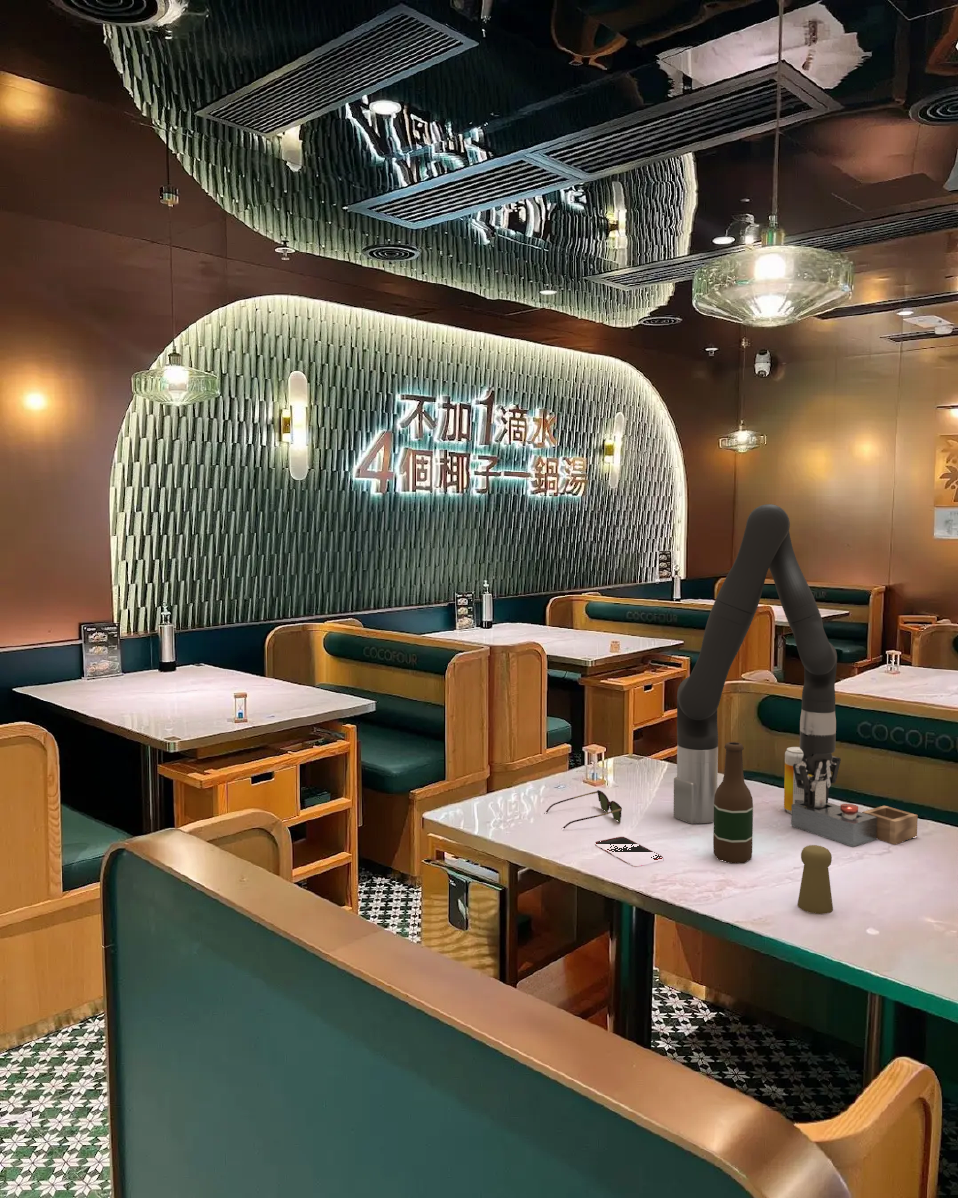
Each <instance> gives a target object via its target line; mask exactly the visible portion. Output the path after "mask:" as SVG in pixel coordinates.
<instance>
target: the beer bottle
mask: <svg viewBox="0 0 958 1198" xmlns="http://www.w3.org/2000/svg"><path fill="white" fill-rule="evenodd" d="M724 749H725V760H724V771H723V778H722V781H721V782H720V784H718V786H717V790H716V793H715V797H714V822H713V832H712V833H713V837H712V838H713V840H712V841H713V842H712V845H713V854H714V856H715V857H716V859H717V858H718V859H717V860H718V861H720V860H723V861H722V862H724V861H726V862H725V863H728V862H729V863H728V864H746V863H747V862H748V861H750V860H751V859H752V857H753V837H754V835H753V833H754V832H753V829H754V827H753V826H754V825H753V824H754V819H753V818H754V802H753V796H752V794H751V791H750V789H749V787H748V786H747V784H746V783H745V778H744V777H745V776H744V765H743V760H744V758H743V750H744V745H743V743H741V742H739V741H738V742H737V741H729V742H726V743H725V745H724Z"/></svg>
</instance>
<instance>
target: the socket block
mask: <svg viewBox="0 0 958 1198" xmlns="http://www.w3.org/2000/svg"><path fill="white" fill-rule="evenodd" d="M790 817H791V825H790V826H791V827H793V828H797V829H799V830H802V831H804V832H805V831H806V832H808V833H811V834H813V835H817V836H820V837H823V838H826V839H829V840H831V841H834V842H836V843H840V844H843V845H846V846H849V847H852V848H854V847H858V846H861V845H864V844H867V843H871V842H873V841H877V839H876V833H877V817H875V816H871V815H868V814H865V813H862V811H858V813H857V818H856V819H852V820H850V819H847V818H844V817H842V811H841V810H840V805H839V804H835V803H831V802H828V803H826V808H825V809H821V810H816V809H813V808H809V807H807V806H805V804H804V801H803V802H799V803H795V804H792V814H791V815H790Z"/></svg>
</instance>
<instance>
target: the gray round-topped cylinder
mask: <svg viewBox="0 0 958 1198" xmlns="http://www.w3.org/2000/svg"><path fill="white" fill-rule="evenodd" d="M808 782H809V785H810V784H811V780H809V781H808ZM814 791H815V806H814V807H812V808H813V809H816V810H821V809H825V808H826V779H824V778H820V777H819V780H818V781H817V782H816V785H815V790H814ZM807 807H808V806H807ZM809 808H811V807H809Z"/></svg>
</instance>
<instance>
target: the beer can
mask: <svg viewBox="0 0 958 1198" xmlns="http://www.w3.org/2000/svg"><path fill="white" fill-rule="evenodd" d="M802 758H803V751H802V750H801V749H800V746H791V747H787V748H786V751H785V752H784V779H783V780H784V781H783V782H784V783H783V784H784V786H783V787H784V789H783V790H784V791H783V808H784V809H785V811H786V813H789V814H791V815H792V804H795V803H799V802H803V801H804V789H802V788H798V787H797V783H796V779H795V774H794V770H793V765H794V764H799V763H801V762H802ZM808 775H809V776H811V777H813V775H810V774H808ZM801 781H802V780H801ZM802 783H803V781H802Z"/></svg>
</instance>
